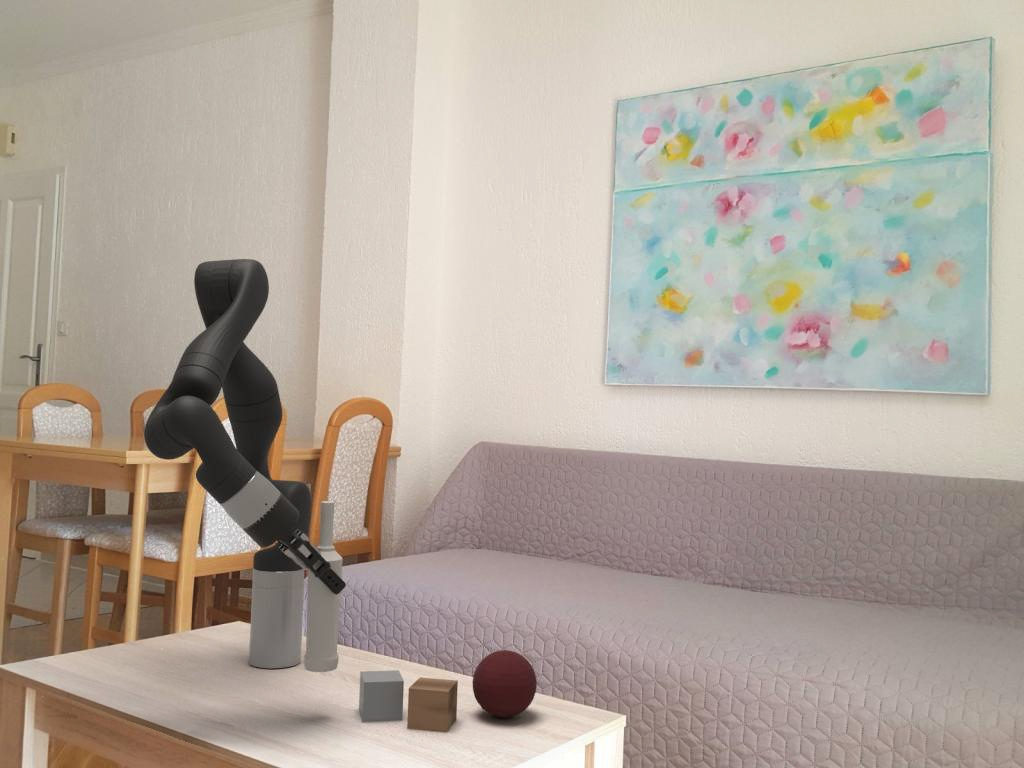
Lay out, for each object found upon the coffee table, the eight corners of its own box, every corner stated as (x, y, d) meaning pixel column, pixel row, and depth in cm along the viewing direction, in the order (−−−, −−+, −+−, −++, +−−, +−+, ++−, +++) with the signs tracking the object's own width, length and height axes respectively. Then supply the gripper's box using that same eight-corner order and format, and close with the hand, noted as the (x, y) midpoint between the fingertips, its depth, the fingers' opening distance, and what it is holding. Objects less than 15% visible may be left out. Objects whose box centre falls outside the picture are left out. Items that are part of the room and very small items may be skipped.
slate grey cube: (358, 710, 145) (360, 671, 145) (397, 708, 146) (398, 670, 147) (362, 722, 139) (364, 682, 139) (402, 721, 141) (403, 681, 141)
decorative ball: (458, 717, 143) (460, 651, 143) (496, 702, 151) (498, 640, 152) (511, 731, 137) (513, 663, 138) (548, 715, 145) (550, 650, 146)
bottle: (344, 665, 142) (351, 501, 143) (327, 674, 137) (334, 504, 138) (314, 661, 144) (321, 499, 144) (296, 669, 139) (303, 502, 140)
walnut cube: (418, 716, 143) (419, 677, 143) (456, 720, 142) (457, 680, 142) (407, 729, 137) (408, 688, 137) (446, 733, 136) (448, 691, 136)
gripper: (288, 495, 132) (367, 576, 136) (269, 485, 145) (341, 560, 149) (248, 533, 129) (330, 615, 134) (232, 520, 142) (307, 595, 147)
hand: (336, 585), depth 142 cm, fingers closed on bottle, 5 cm apart
